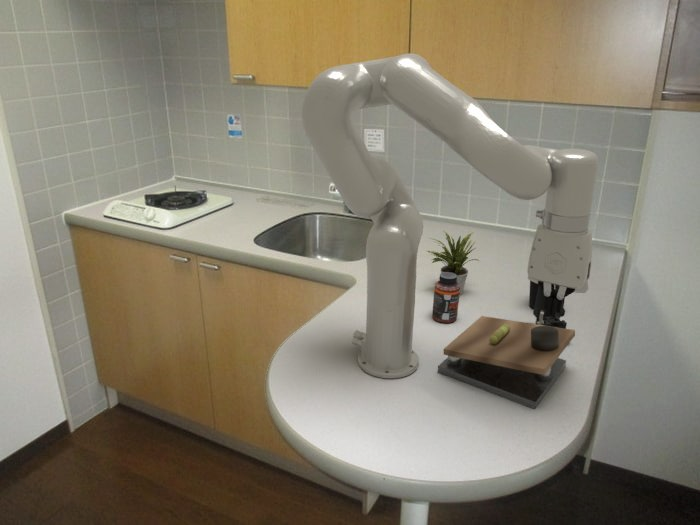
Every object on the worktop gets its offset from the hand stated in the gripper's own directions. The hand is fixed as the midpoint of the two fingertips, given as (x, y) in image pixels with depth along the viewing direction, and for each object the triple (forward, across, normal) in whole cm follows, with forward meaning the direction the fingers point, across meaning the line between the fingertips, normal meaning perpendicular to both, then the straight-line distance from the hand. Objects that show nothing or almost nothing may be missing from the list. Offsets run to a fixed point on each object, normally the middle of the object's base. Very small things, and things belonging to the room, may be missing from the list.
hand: (552, 314), depth 107 cm
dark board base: (+15, -8, 0) cm, 17 cm away
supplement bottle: (+15, -28, +13) cm, 34 cm away
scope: (+15, -6, +20) cm, 26 cm away
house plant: (+15, -34, +29) cm, 47 cm away
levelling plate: (+9, -7, 0) cm, 12 cm away
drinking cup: (+15, -12, +33) cm, 38 cm away
